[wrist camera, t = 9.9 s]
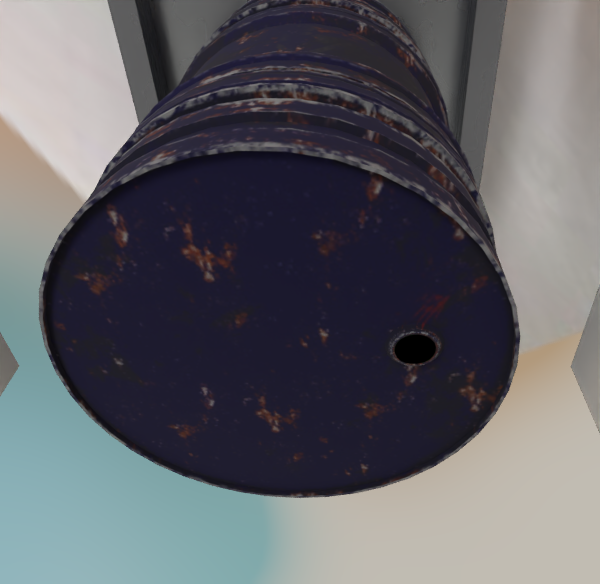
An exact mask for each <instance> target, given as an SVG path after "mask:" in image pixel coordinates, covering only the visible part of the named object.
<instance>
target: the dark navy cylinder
mask: <svg viewBox="0 0 600 584" xmlns="http://www.w3.org/2000/svg"><path fill="white" fill-rule="evenodd" d="M39 321H40V325H41V330H42V335H43V340H44V345H45V347H46V350H47V352H48V355H49V357H50V360H51V362H52V364H53V367H54V369H55V371H56V373H57V375H58V376H59V378H60V379H61V381H62V382H63V384H64V386H65V387H66V389H67V390H68V392H69V393H70V395H71V396H72V397H73V398H74V400H75V401H76V402H77V403H78V404H79V405H80V407H81V408H82V409H83V410H84V411H85V412H86V414H87V415H88V416H89V417H90V418H92V419H93V420H94V421H95V422H96V423H97V424H98V425H99V426H100V427H102V428H103V429H104V430H105V431H106V432H107V433H108V434H109V435H111V436H112V437H114V438H115V439H117V440H118V441H119V442H121V443H122V444H124V445H125V446H126V447H128V448H129V449H131V450H132V451H134V452H136V453H137V454H139V455H141V456H143V457H145V458H147V459H148V460H150V461H152V462H154V463H155V464H157V465H159V466H162V467H164V468H166V469H168V470H171V471H173V472H175V473H178V474H180V475H182V476H185V477H188V478H191V479H194V480H197V481H200V482H203V483H206V484H209V485H212V486H216V487H221V488H225V489H229V490H234V491H238V492H244V493H250V494H258V495H264V496H275V497H294V498H304V497H329V496H336V495H345V494H353V493H358V492H363V491H367V490H372V489H376V488H381V487H384V486H387V485H390V484H393V483H396V482H399V481H402V480H405V479H408V478H411V477H412V476H415V475H417V474H419V473H421V472H423V471H426V470H428V469H430V468H432V467H434V466H436V465H437V464H439V463H440V462H442V461H444V460H445V459H447V458H448V457H450V456H451V455H453V454H455V453H456V452H458V451H459V450H460V449H461V448H462V447H464V446H465V445H466V444H467V443H468V442H470V441H471V440H472V439H473V438H474V437H475V436H476V435H478V434H479V432H480V431H481V430H482V429H483V428H484V426H485V425H486V424H487V423H488V422H489V421H490V419H491V418H492V417H493V416H494V415H495V414H496V412H497V410H498V408H499V407H500V405H501V403H502V401H503V400H504V398H505V396H506V394H507V393H508V391H509V388H510V385H511V382H512V379H513V376H514V373H515V370H516V367H517V363H518V353H519V343H520V332H519V324H518V316H517V309H516V305H515V302H514V299H513V296H512V294H511V291H510V288H509V286H508V283H507V280H506V277H505V275H504V272H503V269H502V267H501V264H500V262H499V259H498V256H497V254H496V249H495V242H494V235H493V228H492V226H491V223H490V220H489V217H488V215H487V212H486V209H485V206H484V204H483V201H482V198H481V196H480V193H479V191H478V188H477V186H476V182H475V179H474V176H473V174H472V171H471V168H470V165H469V163H468V160H467V157H466V155H465V154H464V152H463V150H462V149H461V147H460V145H459V144H458V142H457V140H456V139H455V137H454V135H453V134H452V132H451V131H450V126H449V121H448V115H447V110H446V105H445V102H444V100H443V97H442V94H441V92H440V89H439V86H438V84H437V83H436V81H435V79H434V77H433V75H432V72H431V70H430V67H429V65H428V63H427V62H426V60H425V58H424V56H423V55H422V53H421V51H420V50H419V48H418V46H417V45H416V43H415V41H414V40H413V38H412V36H411V34H410V33H409V31H408V30H407V29H406V27H405V26H404V25H403V24H402V23H401V21H400V20H399V19H398V18H397V16H396V15H395V14H393V13H392V12H391V11H390V10H389V9H387V8H386V7H385V6H384V5H383V4H382V3H380V2H379V1H377V0H250V1H248V2H247V3H245V4H244V5H243V6H242V7H241V8H240V9H238V10H237V11H236V12H235V13H234V14H233V15H232V16H231V17H230V18H229V19H228V20H227V21H225V22H224V23H223V24H222V25H221V26H220V27H219V28H217V29H216V30H215V32H214V33H213V34H212V35H211V37H210V38H209V39H208V40H207V41H206V43H205V44H204V45H203V46H202V48H201V49H200V50H199V51H198V53H197V54H196V56H195V57H194V59H193V61H192V63H191V65H190V66H189V67H188V69H187V71H186V73H185V74H184V76H183V78H182V79H181V81H180V83H179V85H178V87H176V88H175V89H174V90H173V91H172V92H170V93H169V94H168V95H167V96H166V97H164V98H163V99H162V100H161V101H160V102H158V103H157V104H156V105H155V106H154V107H153V108H152V110H151V111H150V112H149V113H148V114H147V116H146V117H145V118H144V119H143V121H142V122H141V123H140V124H139V125H138V127H137V128H136V130H135V132H134V133H133V134H132V135H131V137H130V138H129V139H128V140H127V142H126V143H125V144H124V145H123V147H122V148H121V149H120V150H119V151H118V153H117V154H116V155H115V156H114V158H113V159H112V160H111V161H110V163H109V164H108V165H107V167H106V169H105V170H104V172H103V174H102V176H101V178H100V180H99V182H98V184H97V186H96V188H95V190H94V191H93V193H92V194H91V196H90V197H89V199H88V200H87V201H86V202H85V203H84V205H83V206H82V207H81V208H80V210H79V211H78V212H77V213H76V214H75V216H74V217H73V218H72V220H71V221H70V222H69V223H68V225H67V226H66V227H65V228H64V230H63V231H62V232H61V234H60V235H59V237H58V239H57V241H56V243H55V245H54V247H53V249H52V251H51V253H50V255H49V257H48V259H47V261H46V264H45V268H44V272H43V277H42V281H41V285H40V289H39Z"/></svg>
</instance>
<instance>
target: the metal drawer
mask: <svg viewBox="0 0 600 584" xmlns="http://www.w3.org/2000/svg"><path fill="white" fill-rule="evenodd" d="M248 1H250V0H108V4H109V8H110V12H111V16H112V20H113V24H114V28H115V32H116V36H117V39H118V43H119V47H120V51H121V55H122V59H123V63H124V67H125V71H126V75H127V79H128V83H129V86H130V90H131V94H132V98H133V102H134V106H135V110H136V114H137V118H138V122H139V124H140V123H141V122H142V121H143V119H144V118H145V117H146V116H147V114H148V113H149V112H150V111H151V110H152V108H153V107H154V106H155V105H156V104H157V103H158V102H160V101H161V100H162V99H163V98H164V97H166V96H167V95H168V94H169V93H170V92H172V91H173V90H174V89H175V88H176V87H178V85H179V83H180V81H181V79H182V78H183V76H184V74H185V73H186V71H187V69H188V67H189V66H190V65H191V63H192V61H193V59H194V57H195V56H196V54H197V53H198V51H199V50H200V49H201V48H202V46H203V45H204V44H205V43H206V41H207V40H208V39H209V38H210V37H211V35H212V34H213V33H214V32H215V30H216V29H217V28H219V27H220V26H221V25H222V24H223V23H224V22H225V21H227V20H228V19H229V18H230V17H231V16H232V15H233V14H234V13H235V12H236V11H237V10H238V9H240V8H241V7H242V6H243V5H244V4H245V3H247V2H248ZM377 1H379V2H380V3H382V4H383V5H384V6H385V7H386V8H387V9H389V10H390V11H391V12H392V13H393V14H395V15H396V16H397V18H398V19H399V20H400V21H401V23H402V24H403V25H404V26H405V27H406V29H407V30H408V31H409V33H410V34H411V36H412V38H413V40H414V41H415V43H416V45H417V46H418V48H419V50H420V51H421V53H422V55H423V56H424V58H425V60H426V62H427V63H428V65H429V67H430V70H431V72H432V75H433V77H434V79H435V81H436V83H437V84H438V86H439V89H440V92H441V94H442V97H443V100H444V102H445V105H446V110H447V115H448V121H449V126H450V131H451V132H452V134H453V135H454V137H455V139H456V140H457V142H458V144H459V145H460V147H461V149H462V150H463V152H464V154H465V155H466V157H467V160H468V163H469V165H470V168H471V171H472V174H473V176H474V179H475V182H476V186H477V188H478V191H479V187H480V180H481V174H482V167H483V160H484V153H485V147H486V140H487V133H488V127H489V120H490V113H491V106H492V100H493V93H494V86H495V79H496V73H497V66H498V59H499V52H500V46H501V39H502V32H503V25H504V19H505V12H506V5H507V0H377Z"/></svg>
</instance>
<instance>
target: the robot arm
mask: <svg viewBox="0 0 600 584" xmlns="http://www.w3.org/2000/svg"><path fill="white" fill-rule="evenodd" d="M18 367H19V365H18V363H17V361H16V359H15V358H14V356H13V354H12V353H11V351H10V349H9V347H8V345H7V344H6V342H5V340H4V338H3V337H2V335H1V333H0V396H1V394H2V392H3V391H4V389H5V388H6V386H7V384H8V383H9V381H10V380H11V378H12V377H13V375H14V373H15V372H16V370H17V369H18ZM571 368H572V370H573V372H574V375H575V377H576V379H577V381H578V384H579V386H580V389H581V391H582V393H583V396H584V398H585V400H586V403H587V405H588V407H589V409H590V412H591V414H592V416H593V419H594V421H595V423H596V426H597V428H598V430H599V432H600V286H599V289H598V291H597V294H596V297H595V300H594V303H593V305H592V308H591V311H590V314H589V317H588V320H587V322H586V325H585V328H584V331H583V334H582V337H581V339H580V342H579V345H578V348H577V351H576V353H575V356H574V359H573V362H572V365H571Z"/></svg>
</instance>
